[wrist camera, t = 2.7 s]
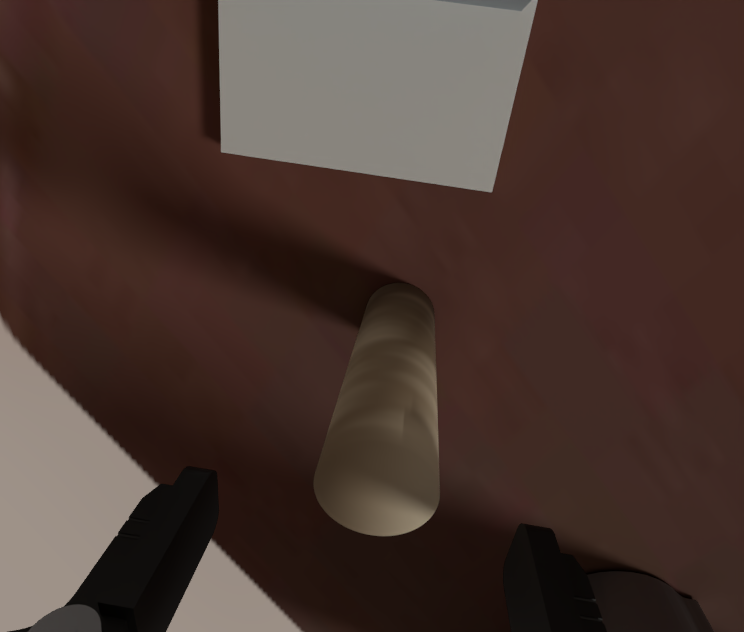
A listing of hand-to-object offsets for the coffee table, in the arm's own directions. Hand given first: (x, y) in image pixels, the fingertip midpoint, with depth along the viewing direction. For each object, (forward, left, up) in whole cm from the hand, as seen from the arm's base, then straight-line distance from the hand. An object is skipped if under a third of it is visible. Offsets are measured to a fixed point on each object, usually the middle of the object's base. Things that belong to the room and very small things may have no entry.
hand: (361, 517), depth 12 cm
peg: (0, 0, -13) cm, 13 cm away
